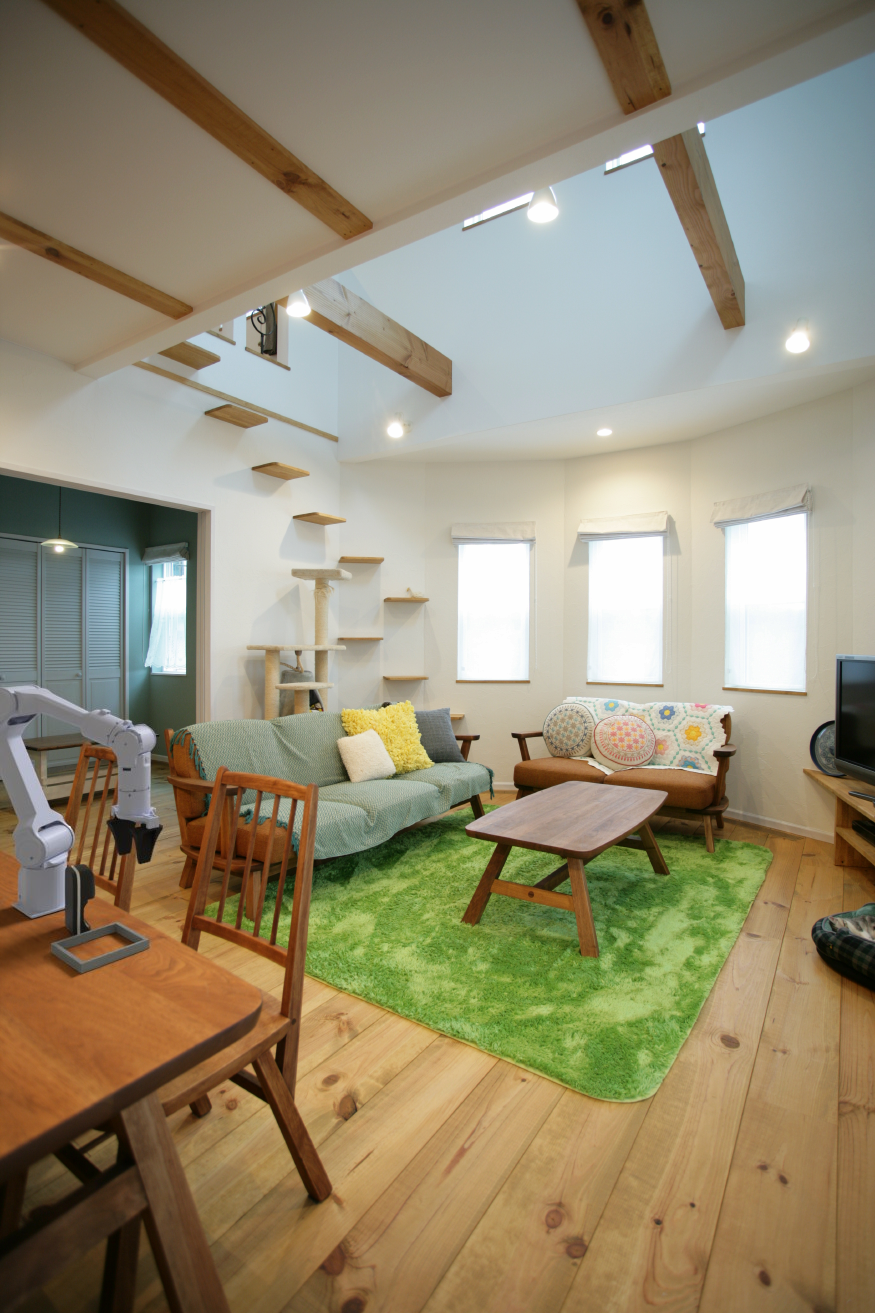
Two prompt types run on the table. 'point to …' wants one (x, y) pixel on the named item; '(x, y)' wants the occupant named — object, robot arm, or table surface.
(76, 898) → the battery charger
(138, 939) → the holder frame
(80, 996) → the table surface
